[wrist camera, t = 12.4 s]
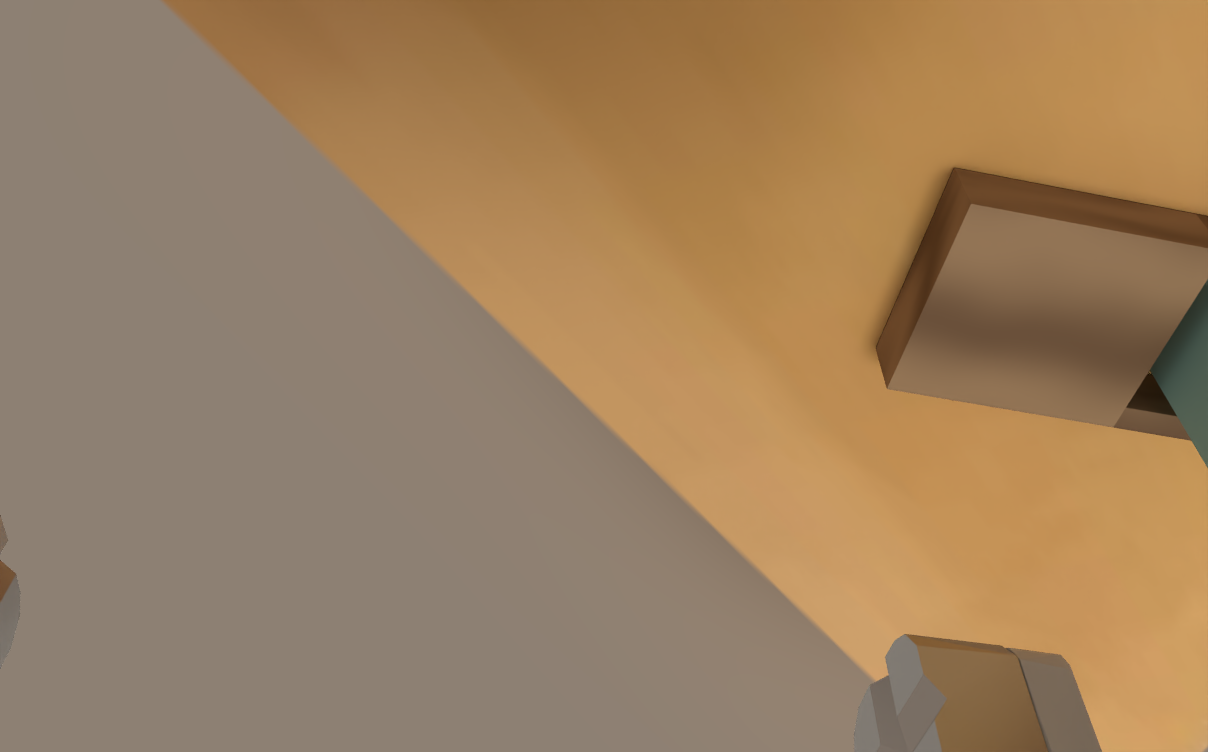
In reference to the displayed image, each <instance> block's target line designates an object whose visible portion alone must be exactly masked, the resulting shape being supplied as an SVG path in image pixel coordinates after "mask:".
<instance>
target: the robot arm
mask: <svg viewBox="0 0 1208 752" xmlns="http://www.w3.org/2000/svg"><path fill="white" fill-rule="evenodd" d="M7 541H8V538H7V535H6V532H5V528H4V526H3V522H2V519H1V515H0V554H1V552H2V550H3V548H4V547H5V545H6V543H7ZM19 616H20V589H19V584H18V580H17V575H16V573H15V572H13V571H12V570H11V569H10V568H9V567H8V566H6V565H5V564H4V563H3V562H2V561H1V560H0V668H1V666H2V664H3V662H4V660H5V658H6V656H7V654H8V652H9V650H10V648H11V645H12V641H13V638H14V634H15V630H16V627H17V623H18V620H19ZM885 658H886V663H887V668H888V673H889V675H888V676H886V677H884V678H882V679H880V680H879V681H877V682H875V683H873V684H871V685H870V686H869V688H868V689H867V691H866V693H865V696H864V698H863V700H862V702H861V704H860V706H859V709H858V715H857V721H856V727H855V732H854V746H855V752H1102V750H1101V748H1100V745H1099V742H1098V740H1097V737H1096V734H1095V732H1094V729H1093V726H1092V723H1091V721H1090V718H1089V715H1088V713H1087V710H1086V707H1085V705H1084V702H1083V699H1082V697H1081V694H1080V691H1079V688H1078V686H1077V683H1076V680H1075V678H1074V675H1073V672H1072V670H1071V667H1070V665H1069V664H1068V663H1067V662H1066V660H1065V659H1064V658H1063V657H1062V656H1061V655H1058V654H1051V653H1044V652H1036V651H1029V650H1021V649H1014V648H1004V647H1003V646H1000V645H991V644H983V643H975V642H967V641H958V640H950V639H942V638H934V637H925V636H917V635H909V634H904V635H903V636H901V637H900V638H898V639H896V640H895V641H894V643H893V644H892V646H891V648H890V650H889V651H888V653H887V655H886V656H885Z"/></svg>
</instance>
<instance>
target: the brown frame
mask: <svg viewBox="0 0 1208 752" xmlns="http://www.w3.org/2000/svg"><path fill="white" fill-rule="evenodd" d="M1207 279H1208V216H1204V215H1198V214H1193V213H1188V212H1183V211H1178V210H1172V209H1167V208H1162V207H1157V206H1151V205H1146V204H1141V203H1136V202H1130V201H1125V200H1120V199H1115V198H1110V197H1104V196H1099V195H1094V194H1089V193H1083V192H1078V191H1073V190H1068V189H1063V188H1057V187H1052V186H1047V185H1042V184H1036V183H1031V182H1026V181H1021V180H1015V179H1010V178H1005V177H1000V176H995V175H989V174H984V173H979V172H974V171H968V170H963V169H958V168H954V169H953V172H952V174H951V176H950V179H949V181H948V183H947V185H946V188H945V190H944V192H943V195H942V197H941V199H940V202H939V204H938V206H937V209H936V211H935V213H934V215H933V218H932V220H931V222H930V225H929V227H928V229H927V232H926V234H925V236H924V239H923V241H922V243H921V245H920V248H919V250H918V252H917V255H916V257H915V259H914V262H913V264H912V266H911V269H910V271H909V273H908V275H907V278H906V280H905V282H904V285H903V287H902V289H901V292H900V294H899V296H898V298H897V301H896V303H895V305H894V308H893V310H892V312H891V315H890V317H889V319H888V322H887V324H886V326H885V328H884V331H883V333H882V335H881V338H880V340H879V342H878V345H877V347H876V351H877V355H878V359H879V362H880V366H881V369H882V373H883V377H884V380H885V384H886V387H887V389H890V390H896V391H902V392H908V393H914V394H920V395H925V396H931V397H937V398H943V399H949V400H955V401H961V402H967V403H973V404H978V405H984V406H990V407H996V408H1002V409H1008V410H1014V411H1020V412H1026V413H1032V414H1037V415H1043V416H1049V417H1055V418H1061V419H1067V420H1073V421H1079V422H1085V423H1091V424H1096V425H1102V426H1108V427H1114V428H1120V429H1126V430H1132V431H1138V432H1144V433H1149V434H1155V435H1161V436H1167V437H1173V438H1179V439H1185V440H1191V439H1190V437H1189V435H1188V434H1187V432H1186V430H1185V429H1184V427H1183V425H1182V423H1181V422H1180V420H1179V418H1178V417H1177V415H1176V413H1175V412H1174V410H1173V408H1172V407H1171V405H1170V403H1169V401H1168V400H1167V398H1166V396H1165V395H1164V393H1163V391H1162V390H1161V388H1160V386H1159V385H1158V383H1157V381H1156V379H1155V378H1154V376H1153V375H1148V372H1149V370H1150V369H1151V367H1152V366H1153V364H1154V363H1155V361H1156V359H1157V358H1158V356H1159V355H1160V353H1161V352H1162V350H1163V348H1164V347H1165V345H1166V344H1167V342H1168V341H1169V339H1170V337H1171V336H1172V334H1173V333H1174V331H1175V330H1176V328H1177V326H1178V325H1179V323H1180V322H1181V320H1182V319H1183V317H1184V315H1185V314H1186V312H1187V311H1188V309H1189V308H1190V306H1191V305H1192V303H1193V301H1194V300H1195V298H1196V297H1197V295H1198V294H1199V292H1200V290H1201V289H1202V287H1203V286H1204V284H1205V283H1206V281H1207ZM1191 441H1192V440H1191Z"/></svg>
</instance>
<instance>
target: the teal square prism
mask: <svg viewBox="0 0 1208 752" xmlns="http://www.w3.org/2000/svg"><path fill="white" fill-rule="evenodd" d="M1150 371H1151V373H1152V374H1153V376H1154V378H1155V379H1156V381H1157V383H1158V385H1159V386H1160V388H1161V390H1162V391H1163V393H1164V395H1165V396H1166V398H1167V400H1168V401H1169V403H1170V405H1171V407H1172V408H1173V410H1174V412H1175V413H1176V415H1177V417H1178V418H1179V420H1180V422H1181V423H1182V425H1183V427H1184V429H1185V430H1186V432H1187V434H1188V435H1189V437H1190V439H1191V440H1192V442H1193V444H1194V445H1195V447H1196V449H1197V451H1198V452H1199V454H1200V456H1201V457H1202V459H1203V461H1204V462H1205V464H1206V466H1207V467H1208V279H1207V281H1206V283H1205V284H1204V286H1203V287H1202V289H1201V290H1200V292H1199V294H1198V295H1197V297H1196V298H1195V300H1194V301H1193V303H1192V305H1191V306H1190V308H1189V309H1188V311H1187V312H1186V314H1185V315H1184V317H1183V319H1182V320H1181V322H1180V323H1179V325H1178V326H1177V328H1176V330H1175V331H1174V333H1173V334H1172V336H1171V337H1170V339H1169V341H1168V342H1167V344H1166V345H1165V347H1164V348H1163V350H1162V352H1161V353H1160V355H1159V356H1158V358H1157V359H1156V361H1155V363H1154V364H1153V366H1152V367H1151V369H1150Z"/></svg>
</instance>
